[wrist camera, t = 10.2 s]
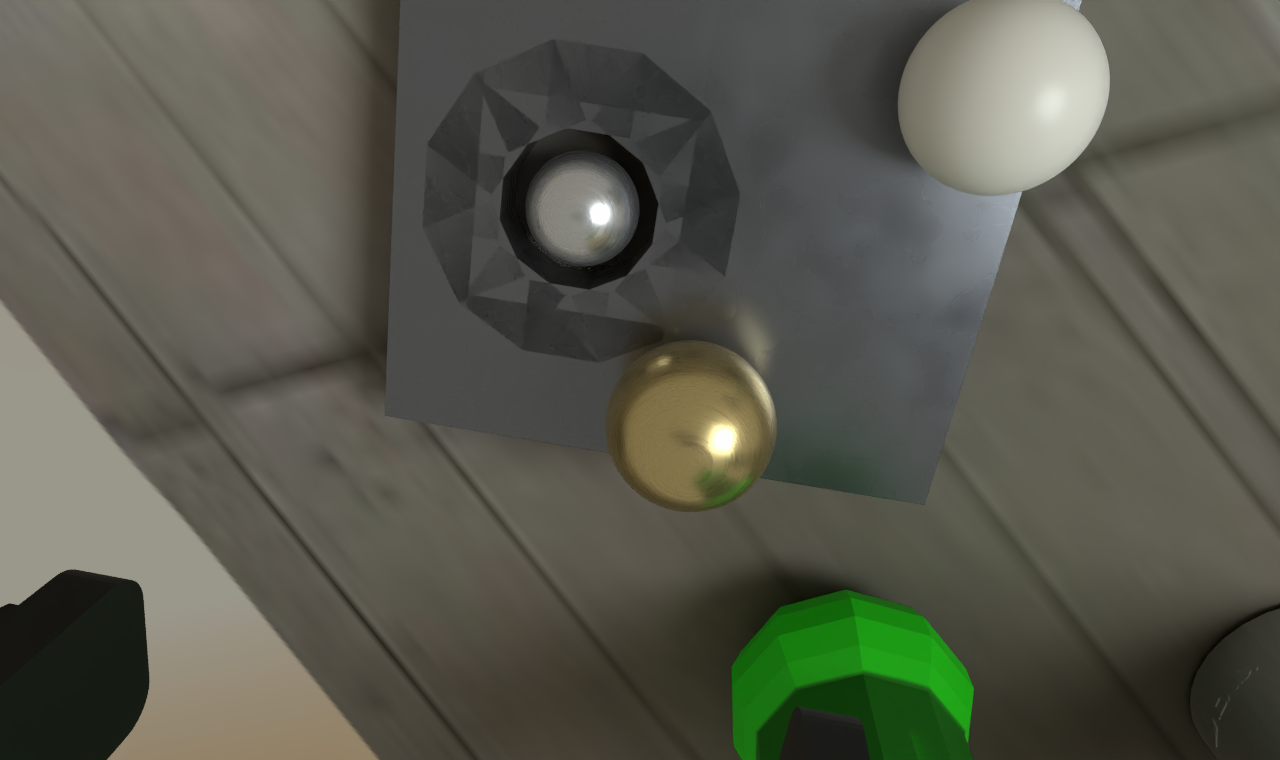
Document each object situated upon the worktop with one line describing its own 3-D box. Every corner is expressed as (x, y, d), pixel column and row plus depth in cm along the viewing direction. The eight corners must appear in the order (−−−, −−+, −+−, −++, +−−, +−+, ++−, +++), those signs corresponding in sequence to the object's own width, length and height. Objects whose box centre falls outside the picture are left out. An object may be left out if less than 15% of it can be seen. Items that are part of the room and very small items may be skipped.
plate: (1052, -2, 28) (1083, -6, 26) (910, 474, 35) (924, 505, 33) (428, -100, 29) (404, -112, 26) (405, 391, 35) (384, 415, 33)
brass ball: (785, 332, 31) (802, 394, 25) (754, 474, 33) (763, 559, 27) (625, 306, 31) (608, 362, 25) (604, 449, 33) (584, 529, 28)
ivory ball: (1089, 10, 26) (1182, 2, 21) (1030, 193, 28) (1103, 227, 23) (907, -19, 26) (955, -33, 21) (863, 166, 28) (897, 193, 23)
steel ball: (650, 152, 31) (644, 169, 28) (634, 258, 33) (626, 288, 29) (541, 135, 31) (521, 149, 28) (530, 242, 33) (510, 269, 29)
